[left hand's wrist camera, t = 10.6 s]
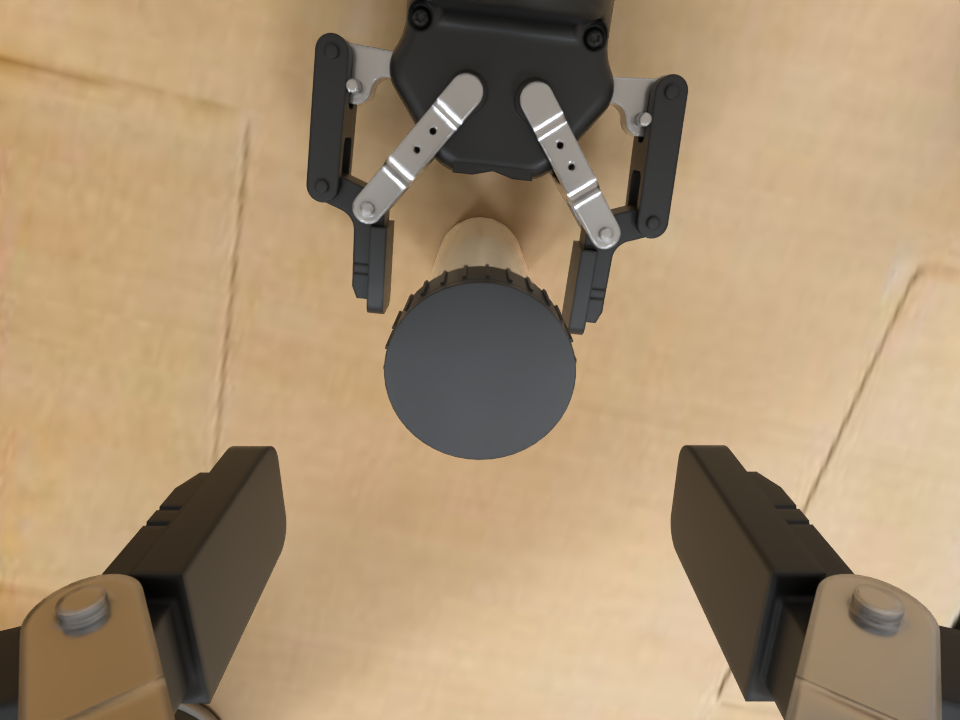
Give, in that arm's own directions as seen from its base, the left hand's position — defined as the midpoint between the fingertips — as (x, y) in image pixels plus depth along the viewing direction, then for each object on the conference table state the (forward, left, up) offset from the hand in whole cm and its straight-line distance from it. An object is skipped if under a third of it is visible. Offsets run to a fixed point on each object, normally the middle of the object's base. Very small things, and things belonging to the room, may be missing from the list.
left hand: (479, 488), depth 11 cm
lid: (0, 0, -6) cm, 6 cm away
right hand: (0, -1, -16) cm, 16 cm away
